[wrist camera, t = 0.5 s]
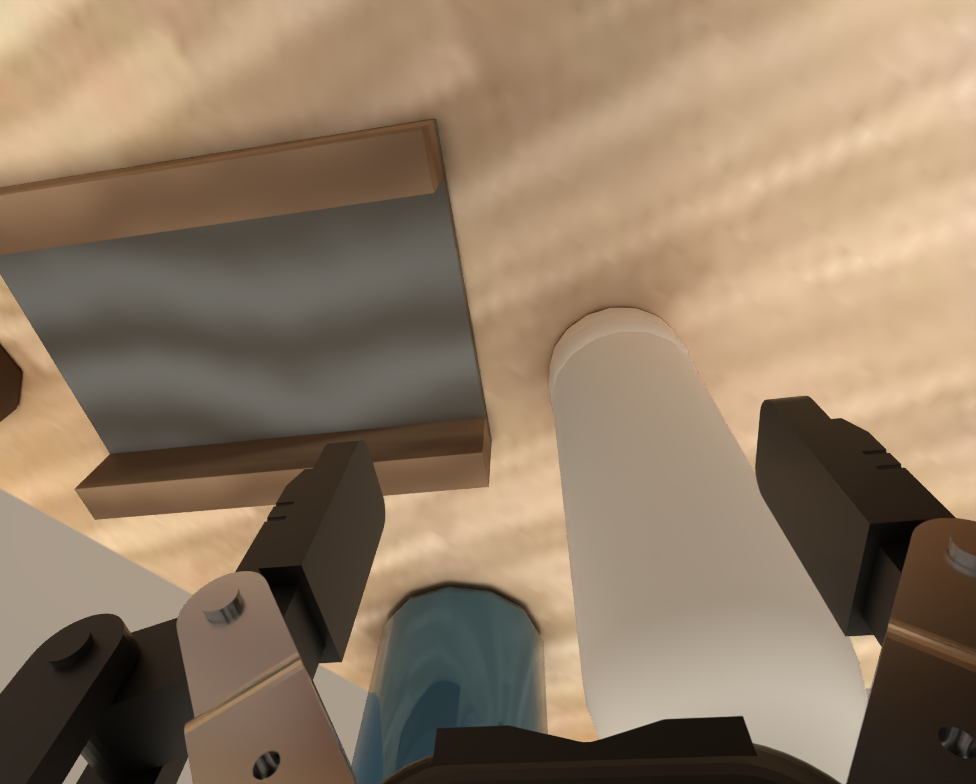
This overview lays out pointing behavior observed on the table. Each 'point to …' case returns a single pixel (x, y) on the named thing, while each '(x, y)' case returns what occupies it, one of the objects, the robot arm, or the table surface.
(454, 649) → the wine bottle
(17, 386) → the beer bottle
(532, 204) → the table surface
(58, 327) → the cradle
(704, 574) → the bottle
